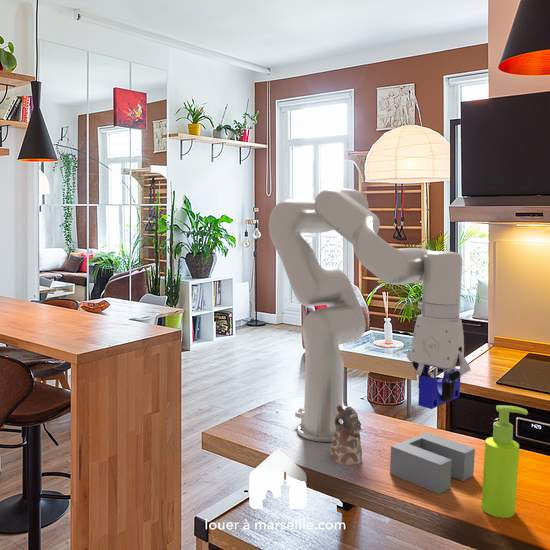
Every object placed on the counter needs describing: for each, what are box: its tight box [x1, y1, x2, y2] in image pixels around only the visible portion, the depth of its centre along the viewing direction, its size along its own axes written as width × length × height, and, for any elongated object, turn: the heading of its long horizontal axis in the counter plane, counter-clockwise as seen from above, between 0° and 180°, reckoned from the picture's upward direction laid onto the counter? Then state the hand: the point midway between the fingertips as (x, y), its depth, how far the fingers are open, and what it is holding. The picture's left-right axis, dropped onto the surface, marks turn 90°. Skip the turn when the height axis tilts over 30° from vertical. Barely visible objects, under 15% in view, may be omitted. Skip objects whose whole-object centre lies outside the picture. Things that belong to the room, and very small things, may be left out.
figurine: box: [329, 405, 363, 466], centre depth 131 cm, size 7×7×12 cm
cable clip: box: [418, 368, 461, 410], centre depth 123 cm, size 12×4×6 cm, turn 136°
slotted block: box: [389, 431, 476, 495], centre depth 124 cm, size 12×13×6 cm
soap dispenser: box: [480, 404, 529, 519], centre depth 108 cm, size 6×7×20 cm
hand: (435, 395), depth 122 cm, fingers closed on cable clip, 4 cm apart
